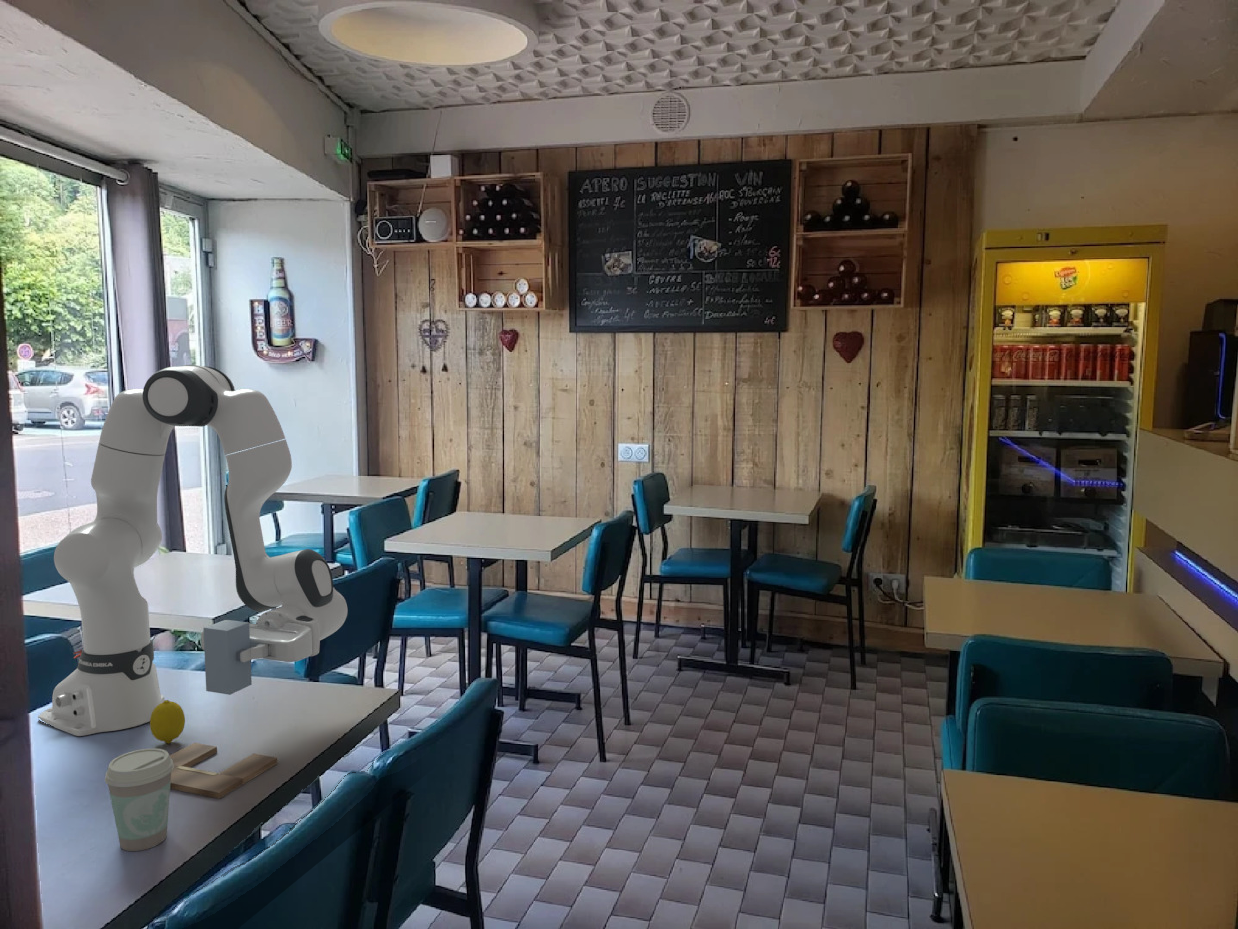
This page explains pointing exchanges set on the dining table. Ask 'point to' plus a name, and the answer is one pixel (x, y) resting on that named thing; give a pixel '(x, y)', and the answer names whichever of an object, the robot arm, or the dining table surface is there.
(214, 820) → the dining table surface
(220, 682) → the blue-grey rectangular block
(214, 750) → the wooden u-shaped frame
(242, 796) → the dining table surface
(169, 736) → the lemon
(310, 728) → the dining table surface
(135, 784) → the coffee cup
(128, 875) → the dining table surface
